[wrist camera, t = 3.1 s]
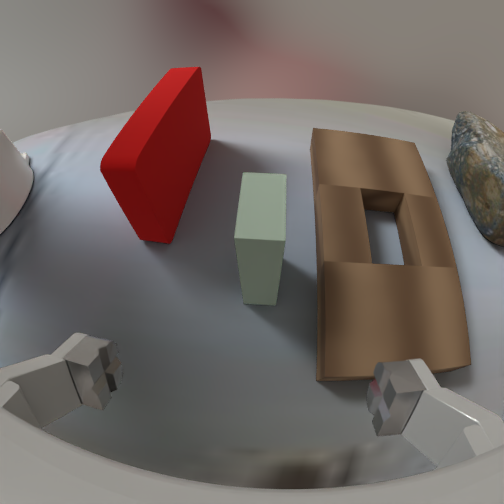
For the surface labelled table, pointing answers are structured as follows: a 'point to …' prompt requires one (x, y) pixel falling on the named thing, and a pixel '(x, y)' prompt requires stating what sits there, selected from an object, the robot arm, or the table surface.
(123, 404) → the table surface
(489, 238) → the stone
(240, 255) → the pale green block
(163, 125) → the red slab
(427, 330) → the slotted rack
